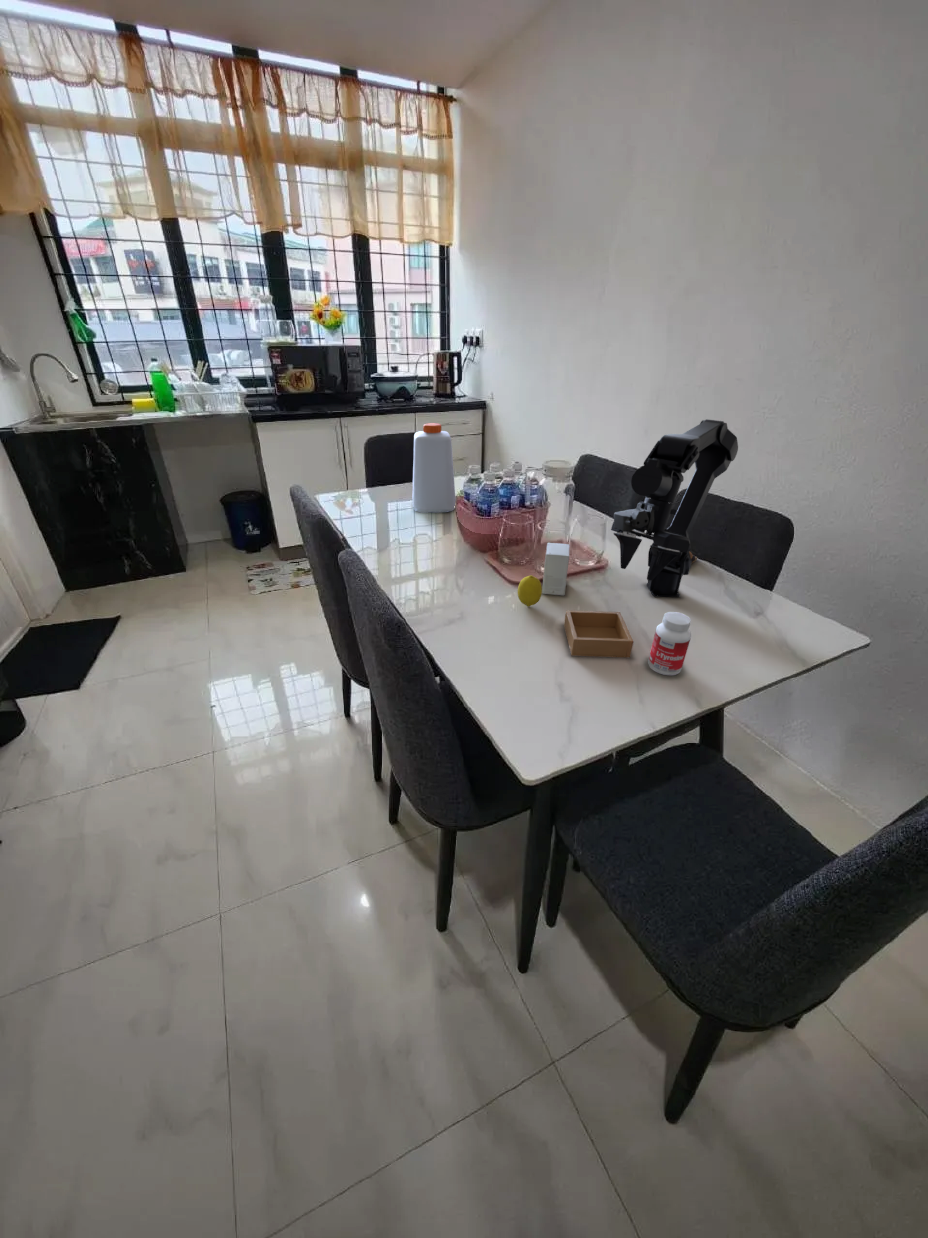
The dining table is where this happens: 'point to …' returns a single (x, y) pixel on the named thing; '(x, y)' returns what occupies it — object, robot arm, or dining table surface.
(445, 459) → the plastic bottle
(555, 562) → the small box
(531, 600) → the lemon
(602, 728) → the dining table surface
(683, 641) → the pill bottle
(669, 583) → the robot arm
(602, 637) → the open box
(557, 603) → the dining table surface
